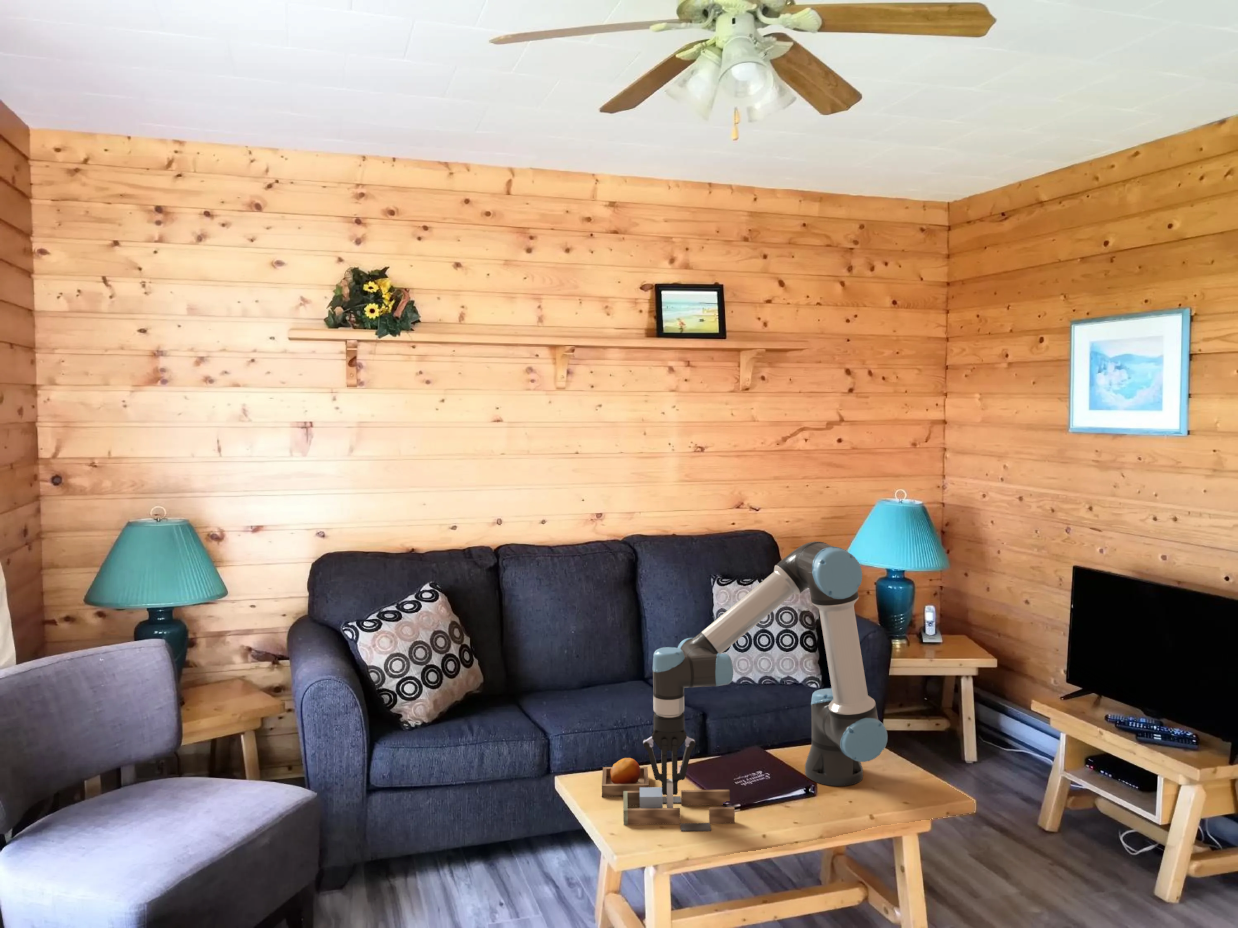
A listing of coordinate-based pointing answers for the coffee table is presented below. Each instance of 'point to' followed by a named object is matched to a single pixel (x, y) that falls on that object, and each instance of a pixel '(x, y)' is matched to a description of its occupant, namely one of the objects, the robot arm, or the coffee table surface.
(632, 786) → the tray
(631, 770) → the fruit
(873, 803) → the coffee table surface
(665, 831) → the coffee table surface
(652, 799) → the block
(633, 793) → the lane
